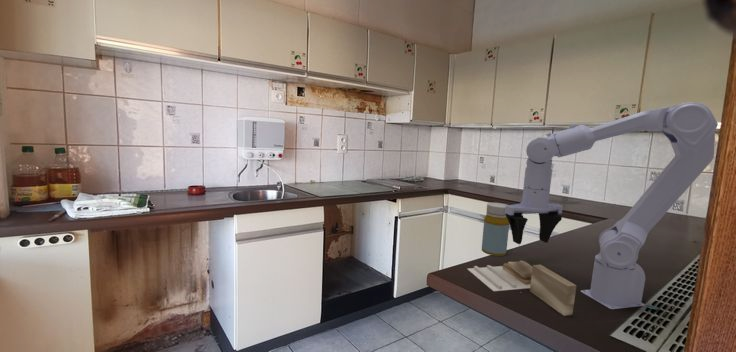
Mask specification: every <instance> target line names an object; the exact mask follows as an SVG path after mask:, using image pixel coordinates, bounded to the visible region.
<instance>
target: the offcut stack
mask: <svg viewBox="0 0 736 352" xmlns="http://www.w3.org/2000/svg"><path fill="white" fill-rule="evenodd" d="M502 266H503V267H502V269H503V270H505V271H506V272H508V273H509V274H511V275H512V276H513V277H515V278H516V279H518V280H519V281H521V282H522V283H523V284H525V285H529V284H531V277H532V268H533V265H531V264H530V263H529V262H527V261H524V262H519V261H508V262H505V263H503V264H502Z"/></svg>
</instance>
